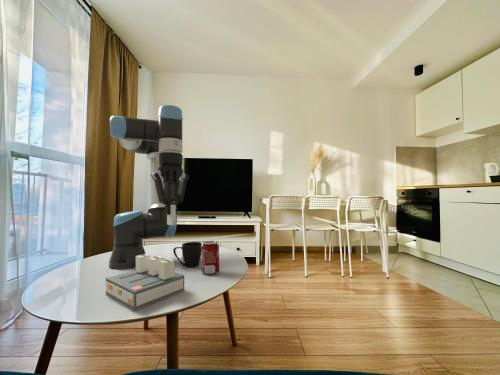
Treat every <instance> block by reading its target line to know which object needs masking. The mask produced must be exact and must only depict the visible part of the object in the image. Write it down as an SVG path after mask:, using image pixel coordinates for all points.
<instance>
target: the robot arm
mask: <svg viewBox="0 0 500 375" xmlns="http://www.w3.org/2000/svg"><path fill="white" fill-rule="evenodd" d="M183 120H184V118H183V111H182V108H180V106H179V107H178V106H176V105H169V104H165V105H164V104H163V105H161V106H160V107H159V109H158V120H157V119H145V118H136V117H129V116H123V115H119V116H118V115H112V116H110V118H109V135H110V137H111V138H112V139H118V142H119V144H120V146H121V147H122V148H124V149H125V150H127V151H129V152H132V153H135V154H139V155H142V154H143V155H146V158H147V159H148V160H149V161H150V162H149V164H150V169H149V170H150V171H149V172H150V207H149V208H148V209H147V213H144V211H143V210H133V211H125V212H121V213H118V214H116V215H115V216H114V217H113V225H112V226H113V249H112V251H111V255H110V257H109V261H108V268H109V269H114V270H122V269H131V268H132V269H133V268H136V256H139V255H141V254H142V255H143V254H147V253H146V250H145V247H144V246H143V244H144V243H143V242H144V241H143V240H148V239H157V238H158V239H160V238H169V237H172V236H174V235H175V233H176V230H177V224H178V206H179V205H180V204H181V203H183V202H184V197H185V193H186V192H185V191H186V188H187V182H188V180H189V179H190V175H189V174H186V173H184V169H183V163H184V162H183V161H184V158H183V157H184V155H183V154H182V153H183Z"/></svg>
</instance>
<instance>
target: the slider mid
mask: <svg viewBox="0 0 500 375" xmlns="http://www.w3.org/2000/svg"><path fill="white" fill-rule="evenodd" d="M162 260H164V257H163V256H159V255H156V256H152V257H151V256H150V258H148V274H150V275H153V276H154V275H158V274H159V261H162Z"/></svg>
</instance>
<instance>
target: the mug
mask: <svg viewBox="0 0 500 375" xmlns="http://www.w3.org/2000/svg"><path fill="white" fill-rule="evenodd" d="M202 246H203V242H200V241H188V242H184V243H182V244H181V246H176V247H174V248H173V251H172V252H173V255H174V257H175V258H176V259H177V261H178V262H179V264H180V265H181V266H182V267H185V268H190V269H193V268H197V267H199V265H200V262H201V259H202ZM177 249H180V250H181V252H182V253H181V254H182V260H183V261H181V259H180V258H179V257H178V255H177V252H176V250H177Z"/></svg>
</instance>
